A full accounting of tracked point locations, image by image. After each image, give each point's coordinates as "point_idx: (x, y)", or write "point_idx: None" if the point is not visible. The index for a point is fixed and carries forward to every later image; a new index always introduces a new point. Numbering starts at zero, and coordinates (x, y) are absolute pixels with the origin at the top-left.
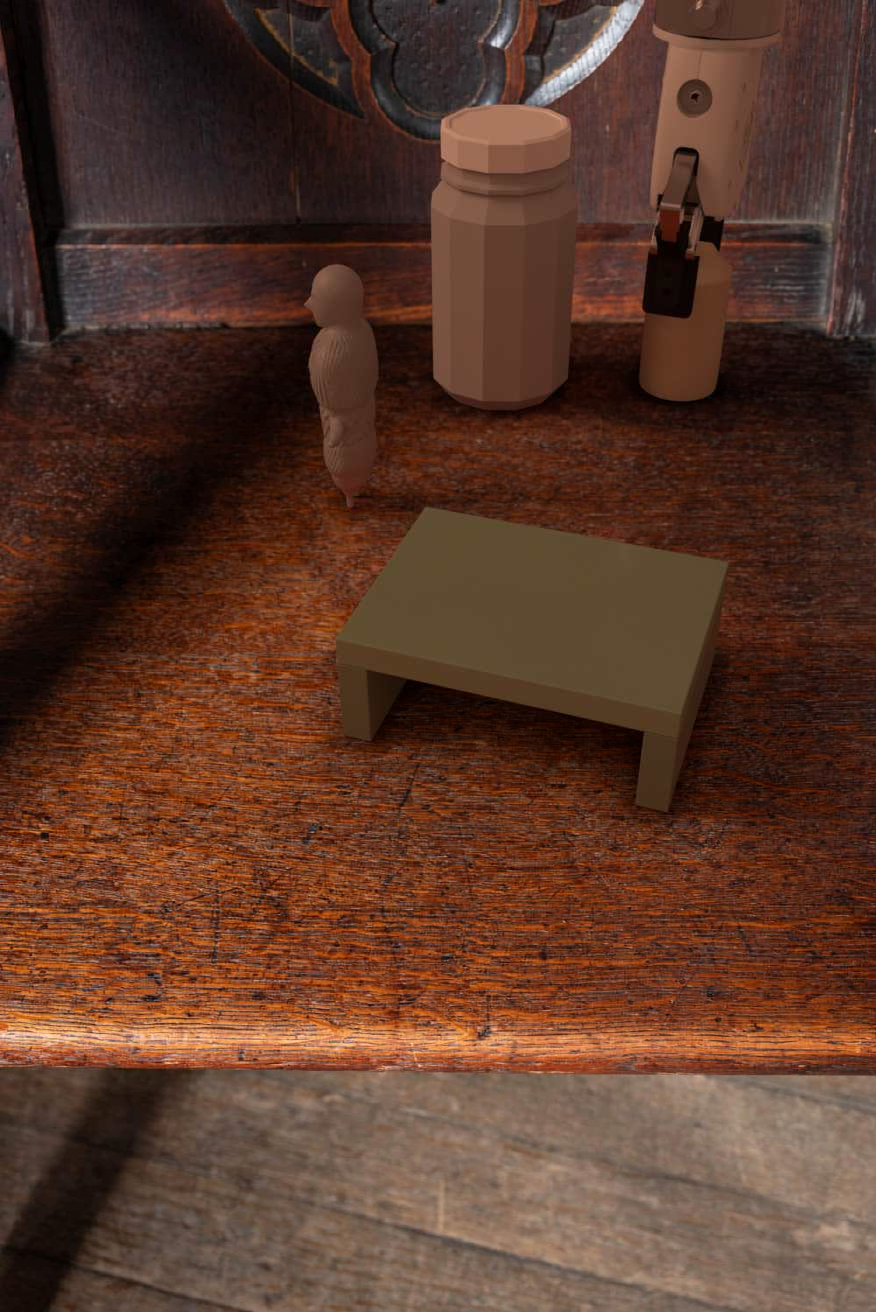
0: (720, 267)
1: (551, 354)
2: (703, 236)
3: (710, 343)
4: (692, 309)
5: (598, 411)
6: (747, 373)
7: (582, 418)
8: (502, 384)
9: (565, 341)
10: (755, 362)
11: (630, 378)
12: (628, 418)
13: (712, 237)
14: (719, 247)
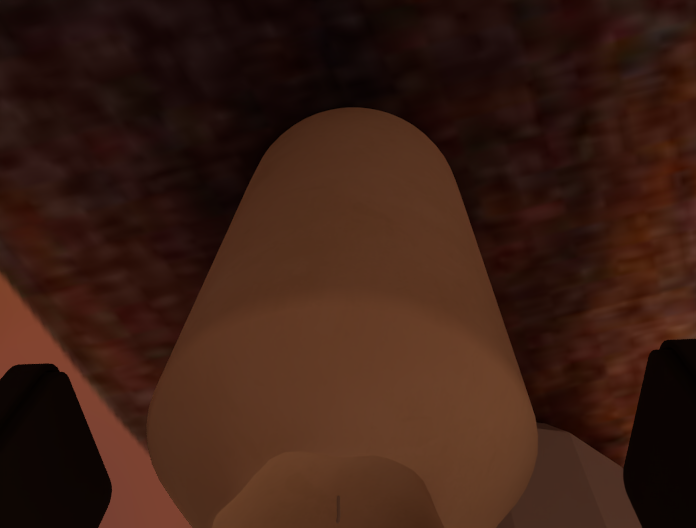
0: (384, 377)
1: (602, 514)
2: (25, 508)
3: (432, 190)
4: (681, 350)
5: (550, 325)
6: (193, 41)
7: (591, 344)
8: None
9: (536, 511)
10: (108, 35)
11: None
12: (569, 262)
13: (9, 478)
14: (6, 409)
